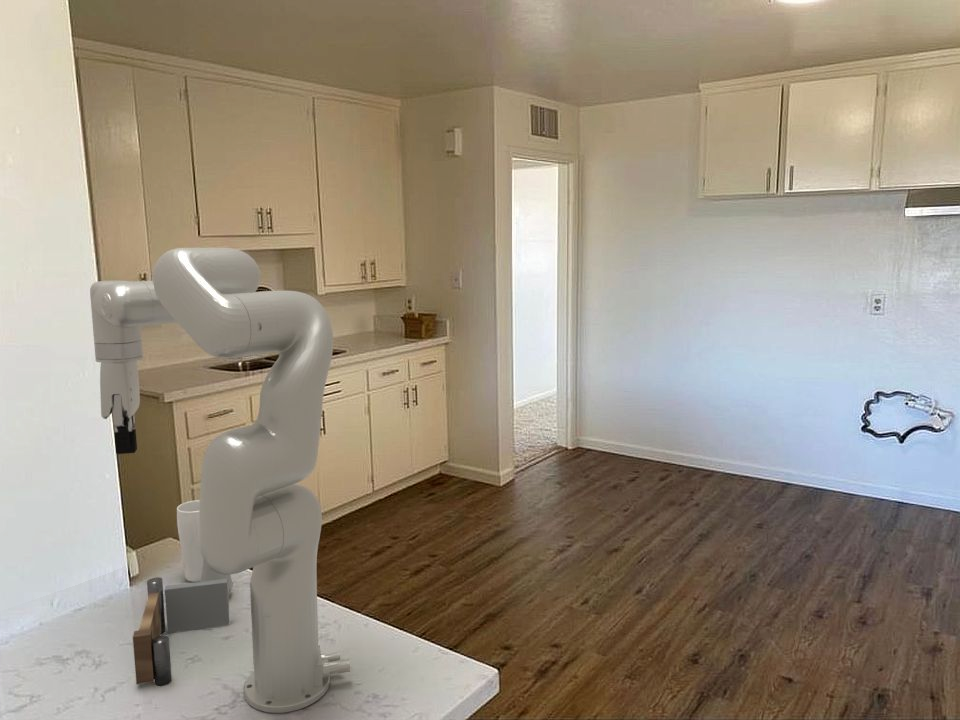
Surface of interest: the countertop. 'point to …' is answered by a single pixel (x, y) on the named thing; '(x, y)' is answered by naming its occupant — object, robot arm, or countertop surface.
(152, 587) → the hinge post
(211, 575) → the salt shaker
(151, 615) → the gate
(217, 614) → the grey rectangular slab
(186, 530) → the drinking glass
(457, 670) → the countertop surface
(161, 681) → the post
